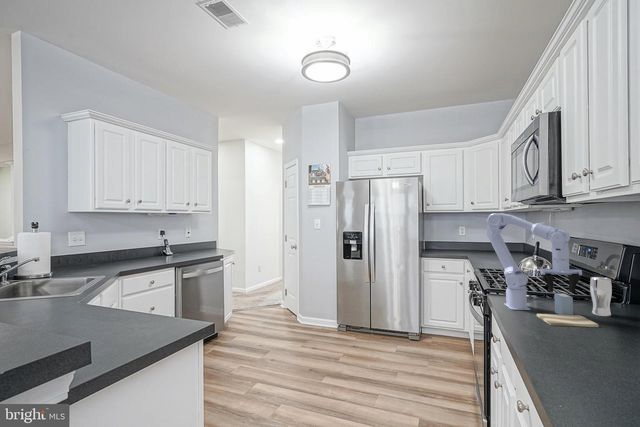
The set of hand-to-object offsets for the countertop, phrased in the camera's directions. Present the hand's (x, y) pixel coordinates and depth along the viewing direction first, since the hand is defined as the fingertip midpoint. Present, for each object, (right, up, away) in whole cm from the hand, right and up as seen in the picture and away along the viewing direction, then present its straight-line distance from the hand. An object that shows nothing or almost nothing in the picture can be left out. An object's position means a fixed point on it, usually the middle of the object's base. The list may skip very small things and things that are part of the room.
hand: (561, 291), depth 138 cm
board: (-3, -10, -7) cm, 13 cm away
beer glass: (+18, -10, +1) cm, 20 cm away
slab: (+3, -10, +2) cm, 11 cm away
